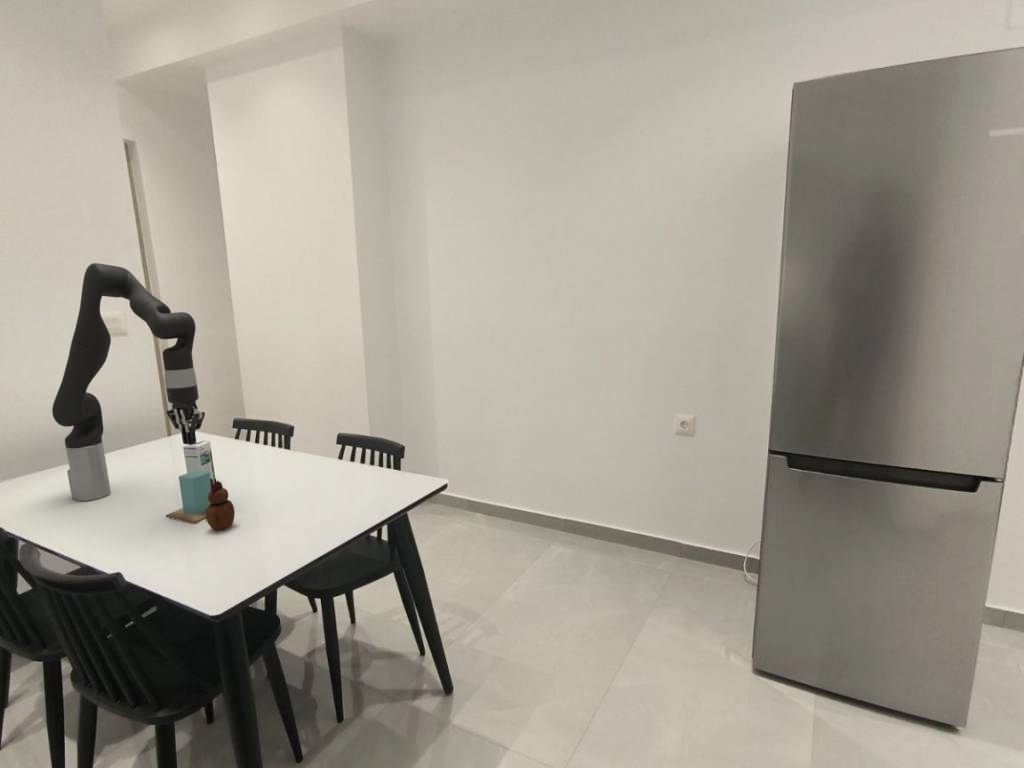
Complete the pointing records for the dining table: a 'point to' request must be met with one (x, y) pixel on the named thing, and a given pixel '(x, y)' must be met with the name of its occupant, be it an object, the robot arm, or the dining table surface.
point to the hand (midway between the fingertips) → (189, 443)
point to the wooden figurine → (219, 507)
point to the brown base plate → (187, 516)
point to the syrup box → (199, 458)
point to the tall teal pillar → (195, 491)
